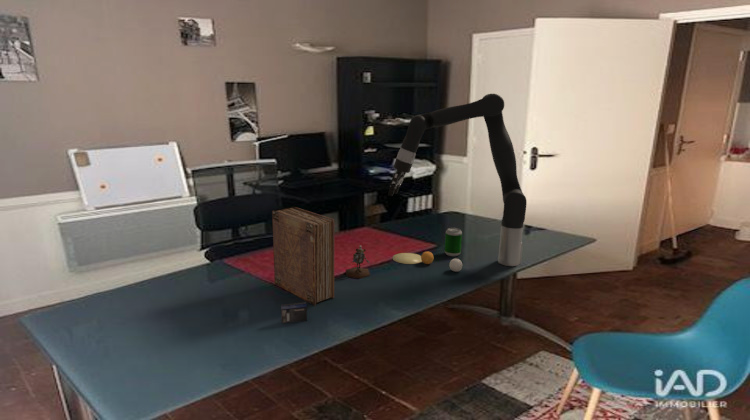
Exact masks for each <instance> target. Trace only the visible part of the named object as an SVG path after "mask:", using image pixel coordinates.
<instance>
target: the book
mask: <svg viewBox="0 0 750 420" xmlns="http://www.w3.org/2000/svg"><path fill="white" fill-rule="evenodd" d="M271 215H272V217H271V218H272V240H273V241H272V243H273V244H272V245H273V246H272V248H273V249H272V250H273V270H274V271H273V272H274V273H273V274H274V285H276V286H277V287H279V288H280V289H283V290H285V291H286V292H288V293H290V294H292V295H294V296H296V297H298V298H299V299H301V300H303V301H304V302H306V303H309V304H310V305H312V306H314V307H315V306H316V305H317V303H320V302H323V301H326V300H328V299H334V298H335V219H334V218H331V217H328V216H325V215H322V214H318V213H315V212H312V211H309V210H306V209H302V208H299V207H296V206H288V207H283V208H278V209H277V208H276V209H272V211H271Z"/></svg>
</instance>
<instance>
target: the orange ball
mask: <svg viewBox="0 0 750 420" xmlns="http://www.w3.org/2000/svg"><path fill="white" fill-rule="evenodd" d="M420 256H421V260H422V262H421V263H423V264H426V265H429V264H430V265H431V264H432V263H433V261H434V254H433V253H432V252H431V251H424V252H422V254H421V255H420Z"/></svg>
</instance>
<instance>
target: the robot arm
mask: <svg viewBox="0 0 750 420" xmlns="http://www.w3.org/2000/svg"><path fill="white" fill-rule="evenodd" d="M504 109H505V100H504V98H503V97H502V96H501V95H499V94H497V93H487V94H485V95H484V96H483V97H482V98H481V99H478V100H476V101H472V102H468V103H466V104H459V105H454V106H449V107H444V108H440V109H437V110H433V111H431V112H426V113H421V114H416V115H414V116H412V118H411V119H410V121H409V124H408V128H407V130H406V135H405V136H404V137H403V138H404V139H403V140H402V143H401V146H400V149H399V150H398V152H397V156H396V158H395V160H394V163H393V169H395V170H396V172H394V173H393V175H392V178H391V180H390V183H389V189H388V193H387V196H390V197H393V196H394V194H395V195H397V194H398V192H399V190H400V187H401V186H402V184H403V181H404V178H405V176H406V174H409V173H410V172H411V170H412V166H413V164H414V162H415V159H416V155H417V154H416V153H417V151H418V148H419V146H420V142H421V140H422V137H423V135H424V133H425V131H426V130H429V129H432V128H440V127H444V126H449V125H452V124H456V123H460V122H463V121H466V120H470V119H476V118H483V119H484V122H485V126H486V129H487V134H488V135H487V136H488V142H489V148H490V153H491V157H492V160H493V164H494V167H495V170H496V173H497V175H498V178H499V181H500V185H501V186H500V188H501V192H502V202H503V211H502V218H501V225H500V235H499V237H500V238H499V247H498V258H497V259H498V260H497V263H498V264H500V265H503V266H506V267H507V266H508V267H516V266H519V265H520V264H521V263H522V258H523V257H522V256H523V247H524V243H523V242H522V240H523V230H524V222H525V220H526V211H527V197H526V196H525V193H523V190H522V188H521V185H520V183H519V179H518V171H517V159H516V153H515V149H514V145H513V142H512V140H511V136H510V134H509V132H508V130H507V128H506V125H505V124H506V123H505V121H504V116H503V115H504V114H503V111H504Z"/></svg>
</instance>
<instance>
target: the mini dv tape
mask: <svg viewBox="0 0 750 420" xmlns="http://www.w3.org/2000/svg"><path fill="white" fill-rule="evenodd" d="M307 305H308V304H307V302H306V301H304V302H296V303H295V302H294V303H284V304H281V305H280V313H281V314H280V317H281V319H280V321H281V324H288V323H290V324H291V323H297V322H307V321H308V306H307Z"/></svg>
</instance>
